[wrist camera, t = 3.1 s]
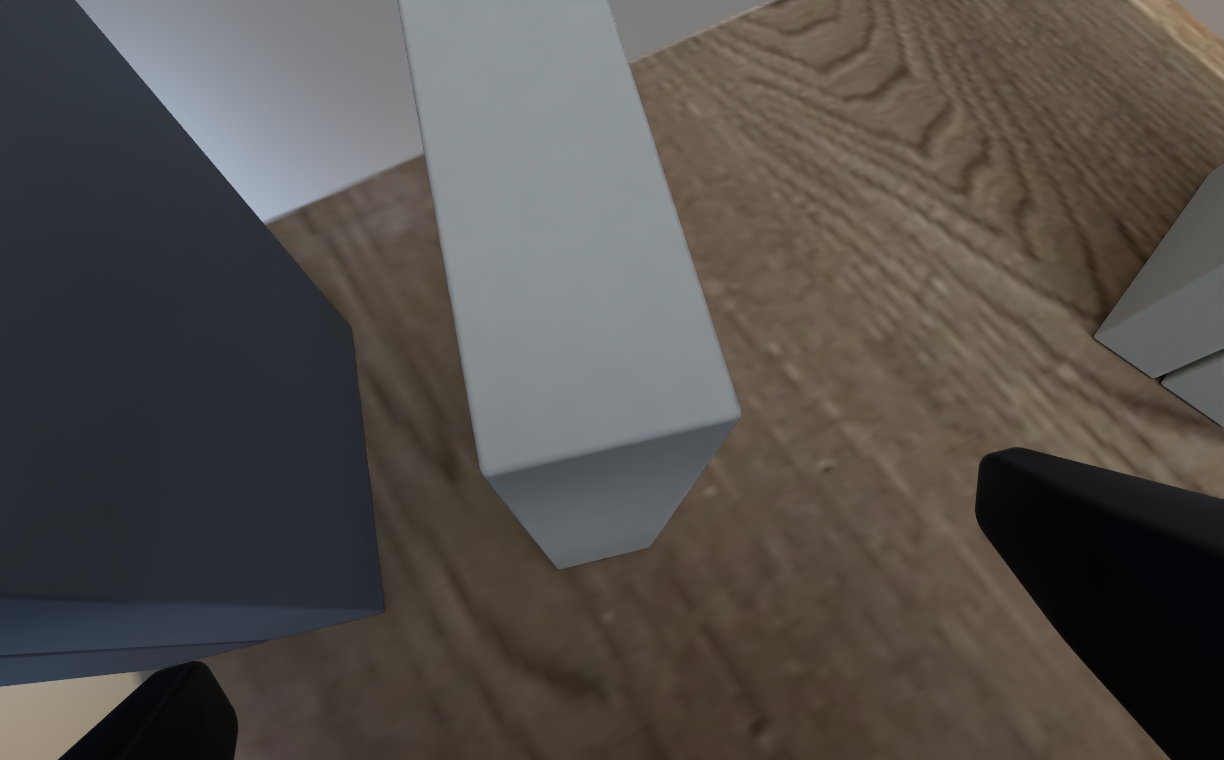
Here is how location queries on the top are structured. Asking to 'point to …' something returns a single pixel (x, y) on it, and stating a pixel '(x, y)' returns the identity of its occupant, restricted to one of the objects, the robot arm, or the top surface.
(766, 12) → the top surface
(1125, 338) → the white books
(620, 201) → the white book
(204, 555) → the grey books
